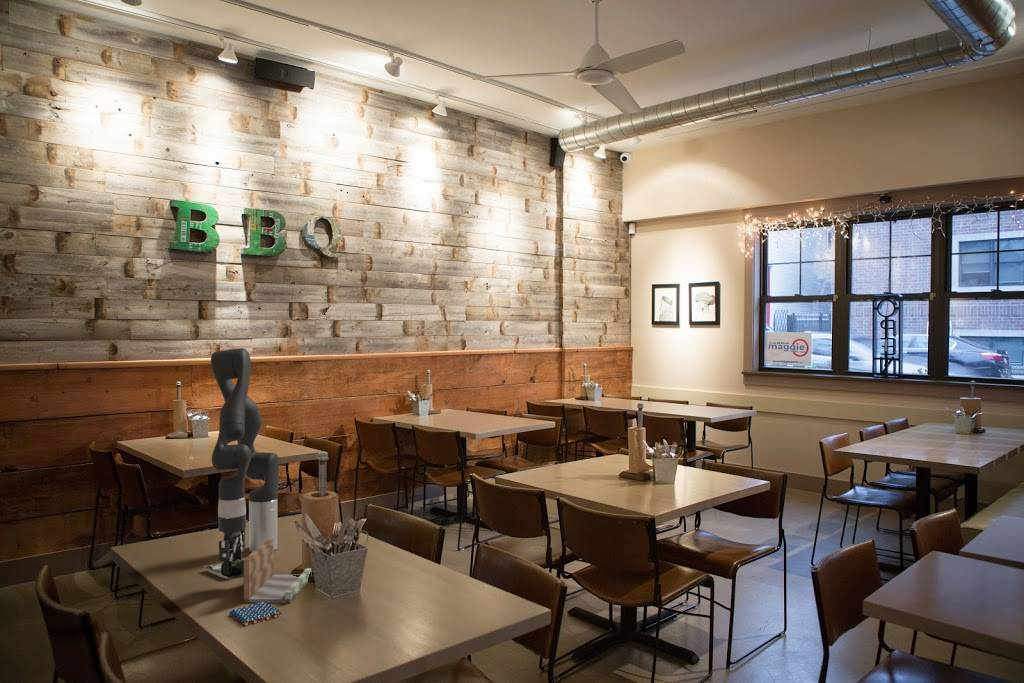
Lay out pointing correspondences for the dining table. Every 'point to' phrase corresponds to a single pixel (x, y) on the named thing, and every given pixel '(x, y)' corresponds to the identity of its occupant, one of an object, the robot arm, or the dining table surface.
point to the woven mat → (255, 613)
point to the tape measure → (235, 568)
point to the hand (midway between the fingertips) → (232, 569)
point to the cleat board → (269, 578)
